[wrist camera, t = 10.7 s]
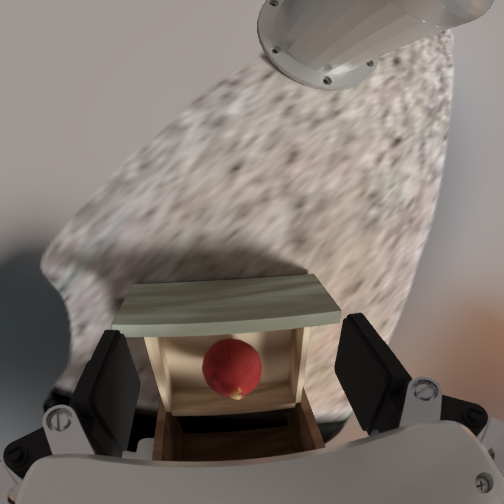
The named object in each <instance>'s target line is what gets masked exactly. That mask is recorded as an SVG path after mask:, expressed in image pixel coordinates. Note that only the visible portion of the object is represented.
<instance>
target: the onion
mask: <svg viewBox="0 0 504 504" xmlns="http://www.w3.org/2000/svg"><path fill="white" fill-rule="evenodd" d="M202 372H203V375H204V378H205V380H206V383H207V384H208V386H209V387H210V388H211V389H212V390H213V391H215V392H216V393H217V394H219V395H221V396H223V397H227V398H233V399H236V400H239V399H241V398H244V396H245V395H246V394H248V393H250V392H251V391H252V390H253V389H254V388H255V387H256V386H257V385H258V383H259V382H260V378H261V374H262V362H261V359H260V356H259V354H258V352H257V351H256V350H255V349H254V348H253V347H252V346H251V345H250V344H248V343H246V342H244V341H242V340H238V339H232V338H229V339H223V340H220V341H218V342H216V343H214V344H213V345H212V346H211V347H210V348H209V349H208V351H207V352H206V353H205V356H204V359H203V364H202Z"/></svg>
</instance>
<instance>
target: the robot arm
mask: <svg viewBox="0 0 504 504" xmlns="http://www.w3.org/2000/svg"><path fill="white" fill-rule="evenodd" d="M493 2H494V0H266V2H265V3H264V5H263V6H262V8H261V11H260V13H259V17H258V21H257V33H258V37H259V41H260V44H261V46H262V48H263V50H264V52H265V54H266V55H267V56H268V58H269V59H270V60H271V62H272V63H273V64H274V65H275V66H276V67H277V68H278V69H279V70H280V71H281V72H283V73H284V74H286V75H287V76H288V77H290V78H291V79H293V80H295V81H297V82H299V83H301V84H303V85H306V86H309V87H312V88H315V89H322V90H342V89H347V88H350V87H353V86H355V85H358V84H359V83H361V82H363V81H365V80H366V79H367V78H368V77H369V76H370V75H371V74H372V73H373V72H374V70H375V69H376V67H377V64H378V61H379V58H380V56H382V55H384V54H386V53H389V52H391V51H393V50H396V49H398V48H400V47H403V46H405V45H407V44H410V43H412V42H415V41H417V40H420V39H422V38H425V37H428V36H430V35H433V34H436V33H439V32H441V31H444V30H447V29H450V28H453V27H456V26H459V25H462V24H465V23H468V22H471V21H473V20H476V19H478V18H479V17H481V16H483V15H484V14H485V13H486V12H487V11H488V10H489V9H490V7H491V6H492V4H493ZM271 5H273V6H271ZM273 50H274V51H276V52H277V53H276V54H275V53H273V52H272V51H273ZM323 80H324V81H326V84H325V83H324V82H323ZM335 373H336V375H337V378H338V380H339V382H340V384H341V386H342V388H343V390H344V392H345V394H346V396H347V398H348V400H349V403H350V405H351V407H352V409H353V411H354V413H355V415H356V417H357V419H358V422H359V424H360V426H361V428H362V430H363V431H367V433H368V435H369V437H366V438H362V439H358V440H355V441H351V442H347V443H343V444H339V445H335V446H330V447H326V448H321V449H316V450H311V451H306V452H300V453H294V454H288V455H281V456H274V457H266V458H256V459H246V460H232V461H210V462H176V461H155V460H141V459H129V458H122V454H123V451H126V450H127V448H128V442H129V437H130V432H131V427H132V422H133V417H134V413H135V408H136V404H137V399H138V395H139V391H140V380H139V377H138V374H137V371H136V369H135V366H134V363H133V360H132V357H131V354H130V351H129V348H128V345H127V341H126V338H125V335H124V334H123V333H120V331H119V330H105V331H104V333H103V335H102V337H101V339H100V341H99V343H98V345H97V347H96V349H95V351H94V353H93V355H92V358H91V360H90V361H88V363H87V364H86V367H85V369H84V371H83V373H82V375H81V377H80V380H79V382H78V384H77V386H76V389H75V391H74V393H73V396H72V398H71V400H70V403H69V405H68V406H66V405H57V406H54V407H52V408H50V409H49V410H48V411H47V412H46V413H45V415H44V417H43V427H42V428H40V429H38V430H36V431H34V432H32V433H30V434H28V435H26V436H24V437H22V438H20V439H18V440H16V441H14V442H12V443H10V444H9V445H8V446H7V447H6V448H5V451H4V455H3V458H4V460H3V461H1V460H0V504H504V422H502V421H500V420H498V419H495V418H493V417H492V418H491V419H488V415H487V412H486V411H485V409H484V408H483V407H481V406H480V405H478V404H475V403H471V402H467V401H463V400H459V399H456V398H452V397H448V396H445V395H442V389H441V387H440V385H439V384H438V383H437V382H436V381H435V380H433V379H431V378H428V377H417V378H414V379H412V378H411V376H410V375H409V374H408V372H407V371H406V370H405V368H404V367H403V365H402V364H401V363H400V361H399V360H398V359H397V357H396V356H395V355H394V353H393V352H392V351H391V349H390V348H389V347H388V345H387V344H386V343H385V342H384V341H383V340H382V338H381V337H380V336H379V334H378V333H377V332H376V330H375V329H374V328H373V326H372V325H371V324H370V323H369V321H368V320H367V319H366V317H365V316H364V315H363V314H362V313H355V314H349V315H348V316H347V318H345V319H344V320H343V324H342V330H341V335H340V341H339V346H338V351H337V356H336V361H335ZM112 456H113V457H112Z"/></svg>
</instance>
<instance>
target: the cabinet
mask: <svg viewBox="0 0 504 504" xmlns="http://www.w3.org/2000/svg"><path fill="white" fill-rule="evenodd" d="M321 448H326V447H325V445H324V442H323V439H322V436H321V434H320V431H319V428H318V426H317V423H316V420H315V417H314V415H313V412H312V409H311V407H310V404H309V401H308V399H307V396H306V393H305V390H304V388H303V389H302V396H301V402H298V403H295V407H293V408H289V413H288V421H287V426H280V427H272V428H264V429H255V430H245V431H232V432H214V433H183V430H182V427H181V424H180V421H179V418H178V416H172V413H171V412H166V410H165V407H164V404H163V401H162V398H161V395H160V401H159V408H158V415H157V423H156V430H155V438H154V446H153V455H152V460H155V461H176V462H210V461H232V460H246V459H256V458H266V457H274V456H281V455H288V454H294V453H300V452H306V451H311V450H316V449H321Z"/></svg>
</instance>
